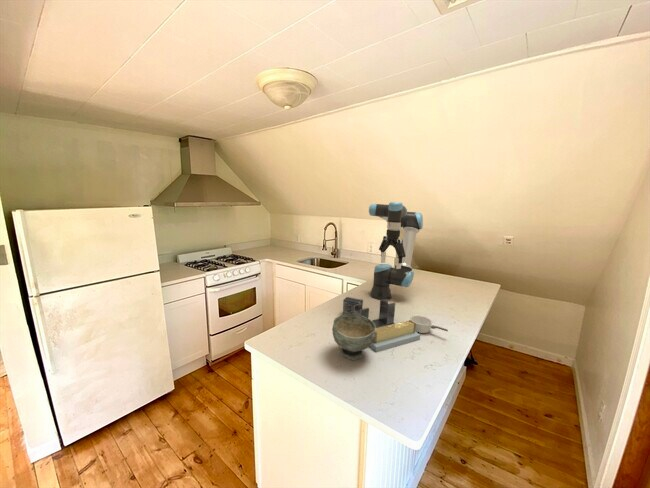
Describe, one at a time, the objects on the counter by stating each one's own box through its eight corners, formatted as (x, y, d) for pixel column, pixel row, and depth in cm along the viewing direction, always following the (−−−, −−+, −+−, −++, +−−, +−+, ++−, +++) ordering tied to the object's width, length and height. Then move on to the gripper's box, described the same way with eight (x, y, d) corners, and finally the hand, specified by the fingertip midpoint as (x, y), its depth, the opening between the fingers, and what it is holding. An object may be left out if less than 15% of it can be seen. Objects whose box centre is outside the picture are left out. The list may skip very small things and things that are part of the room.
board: (363, 341, 135) (363, 336, 134) (406, 330, 147) (406, 326, 147) (376, 352, 126) (376, 347, 125) (420, 339, 138) (420, 334, 138)
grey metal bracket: (351, 326, 149) (353, 305, 147) (386, 318, 160) (387, 298, 158) (359, 332, 143) (360, 310, 141) (394, 323, 154) (396, 303, 152)
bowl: (343, 372, 111) (345, 338, 108) (324, 347, 128) (325, 317, 125) (383, 361, 119) (385, 330, 116) (360, 339, 136) (362, 311, 133)
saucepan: (441, 344, 135) (443, 333, 134) (405, 329, 149) (406, 319, 148) (450, 336, 143) (451, 326, 142) (415, 322, 157) (416, 313, 156)
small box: (362, 316, 163) (363, 299, 161) (359, 320, 157) (360, 303, 155) (346, 312, 167) (346, 296, 165) (342, 316, 161) (343, 299, 159)
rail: (369, 339, 132) (369, 329, 131) (409, 329, 144) (410, 320, 143) (374, 343, 128) (375, 333, 127) (414, 332, 140) (415, 323, 139)
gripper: (374, 226, 163) (372, 260, 167) (404, 232, 141) (400, 272, 145) (384, 226, 166) (381, 260, 170) (414, 232, 144) (410, 270, 148)
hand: (390, 265), depth 157 cm, fingers open, 13 cm apart
